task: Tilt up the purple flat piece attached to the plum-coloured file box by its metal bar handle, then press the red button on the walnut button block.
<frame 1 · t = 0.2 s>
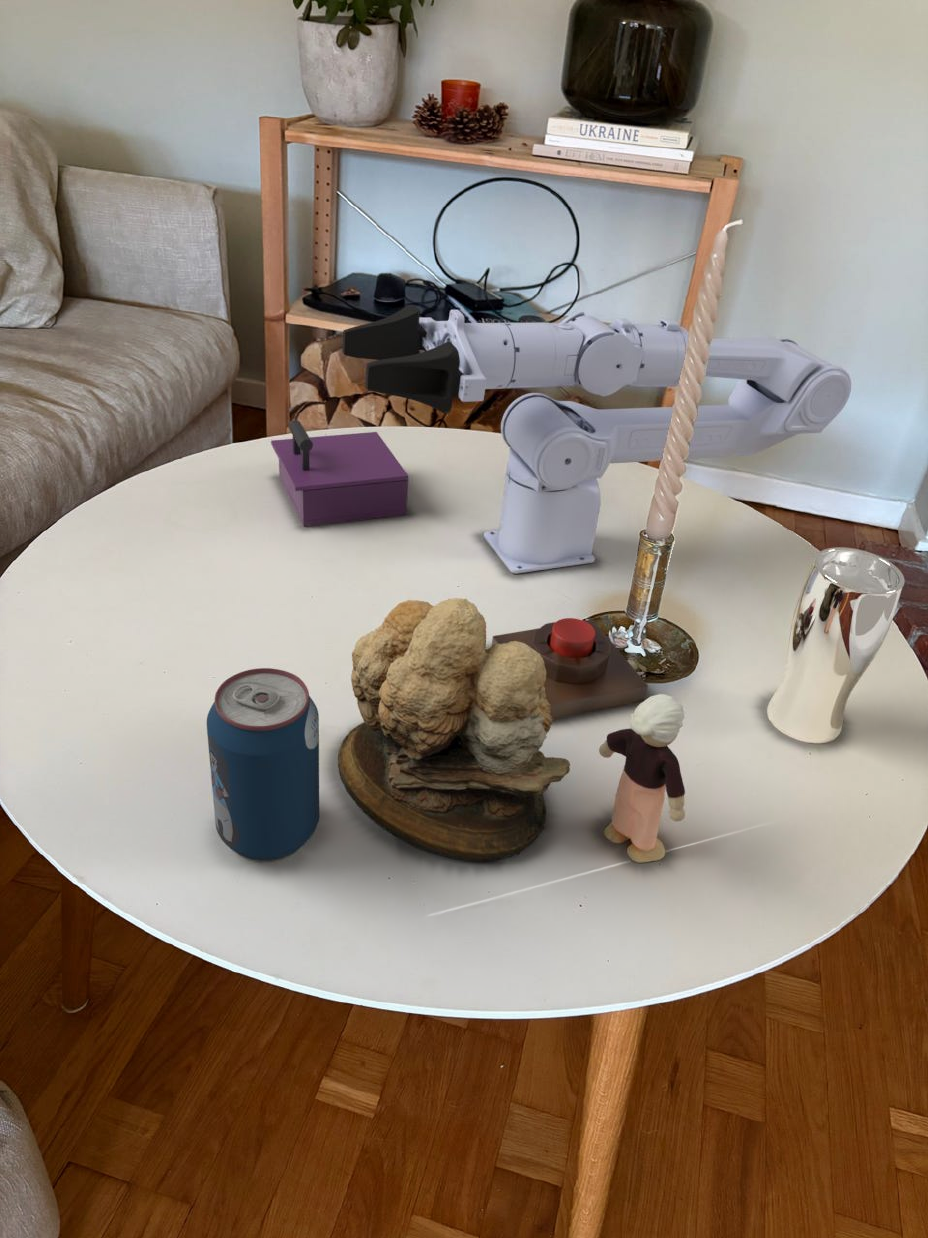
hand: (354, 358, 81), 22 cm above the table, tool horizontal, fingers open, 7 cm apart
purple flat piece: (338, 444, 103), point 6 cm above the table, hinge at 0.0°
grandmother figurine: (627, 838, 68), on the table
beer glass: (802, 721, 81), on the table
tan rock sculpture: (444, 793, 71), on the table
soda can: (268, 832, 66), on the table
button block: (565, 675, 83), on the table
file box: (341, 496, 106), on the table
button: (572, 638, 81), point 4 cm above the table, slide at 0.1 cm
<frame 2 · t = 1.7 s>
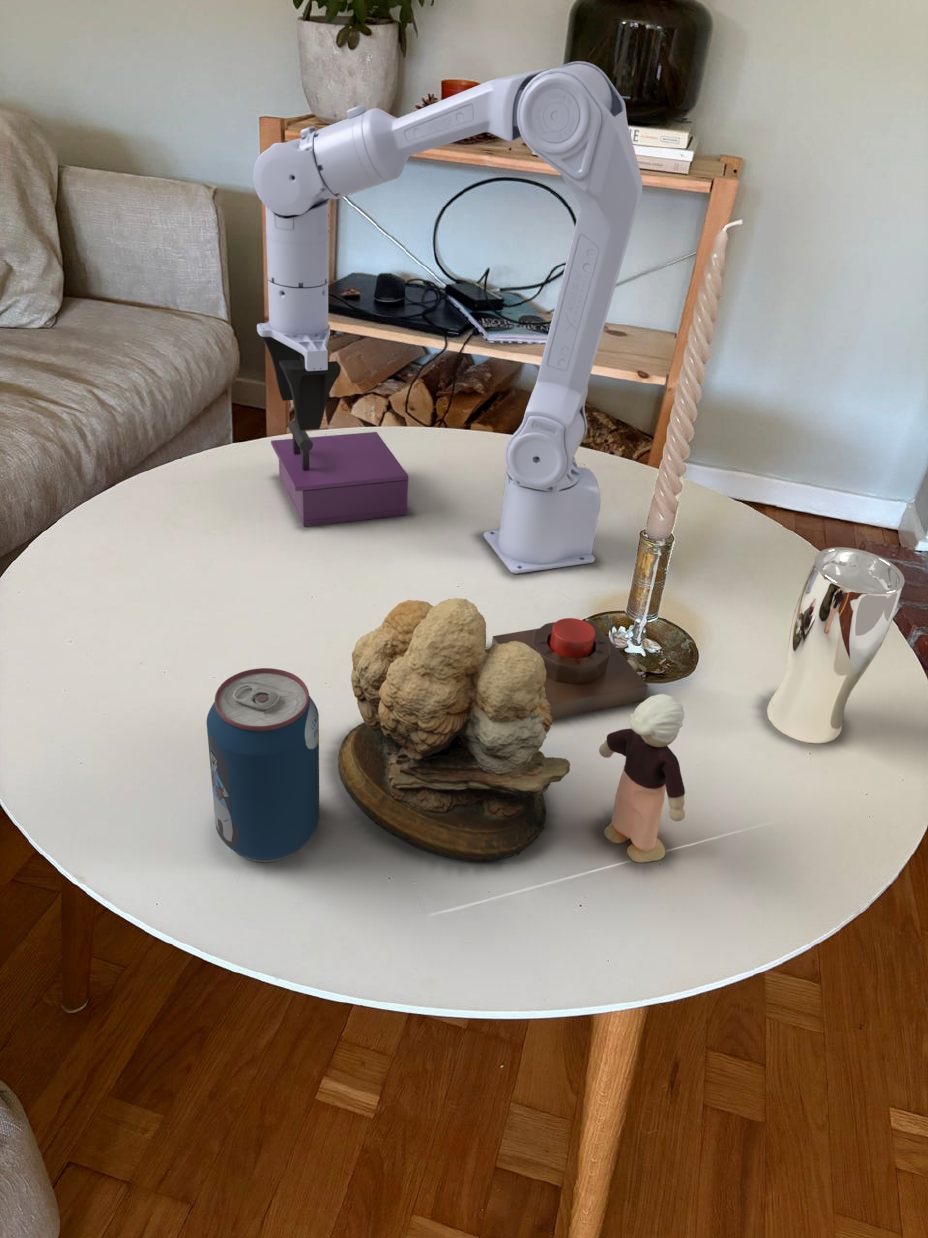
hand: (300, 413, 99), 10 cm above the table, tool pointing down, fingers open, 7 cm apart
nothing on the table moved.
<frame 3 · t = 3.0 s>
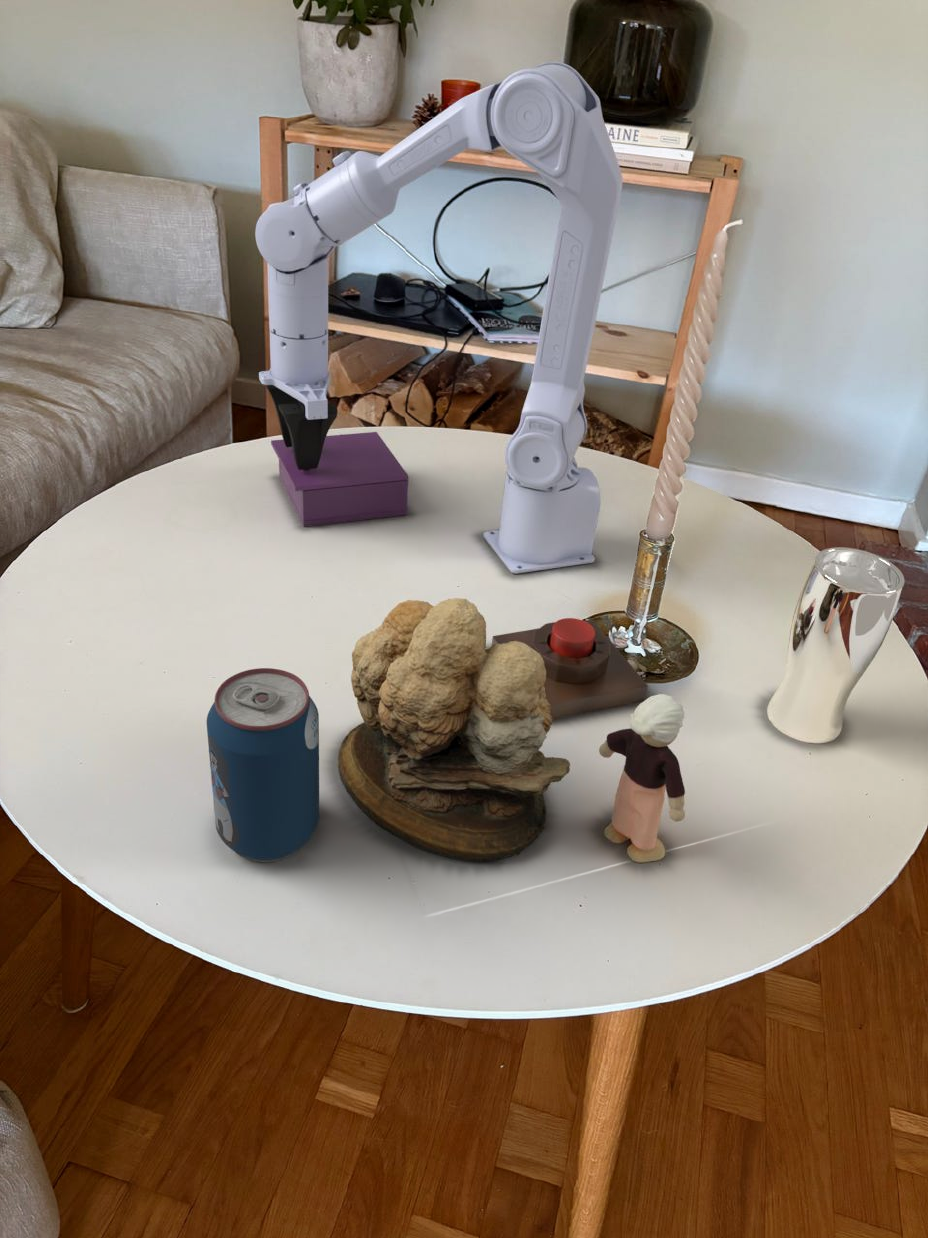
hand: (300, 456, 102), 5 cm above the table, tool pointing down, fingers closed on purple flat piece, 5 cm apart
purple flat piece: (338, 444, 103), point 6 cm above the table, hinge at 0.0°, touching gripper
everything else where it was.
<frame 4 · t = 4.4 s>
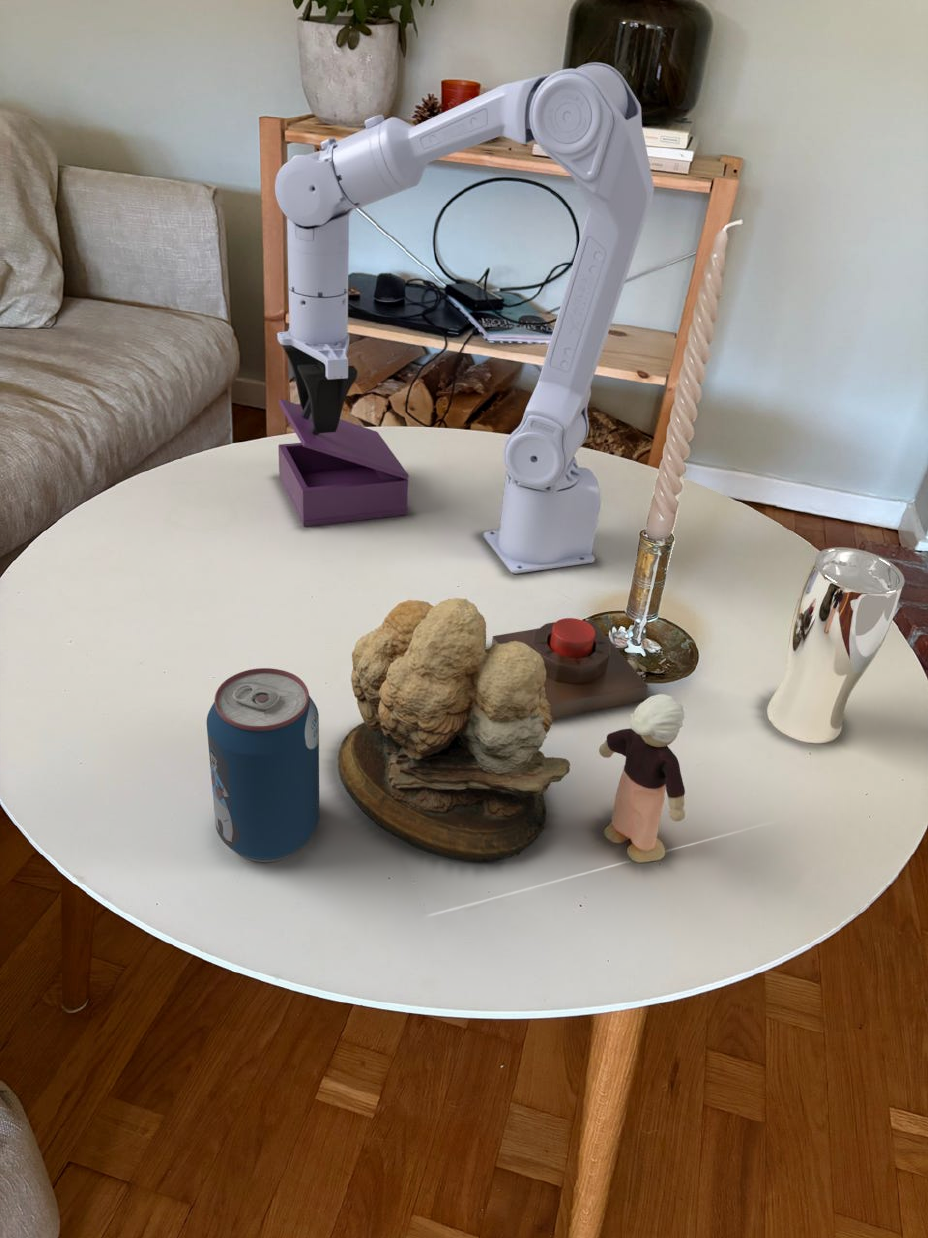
hand: (318, 420, 100), 9 cm above the table, tool pointing down, fingers closed on purple flat piece, 5 cm apart
purple flat piece: (349, 423, 102), point 9 cm above the table, hinge at 23.5°, touching gripper
everything else where it was.
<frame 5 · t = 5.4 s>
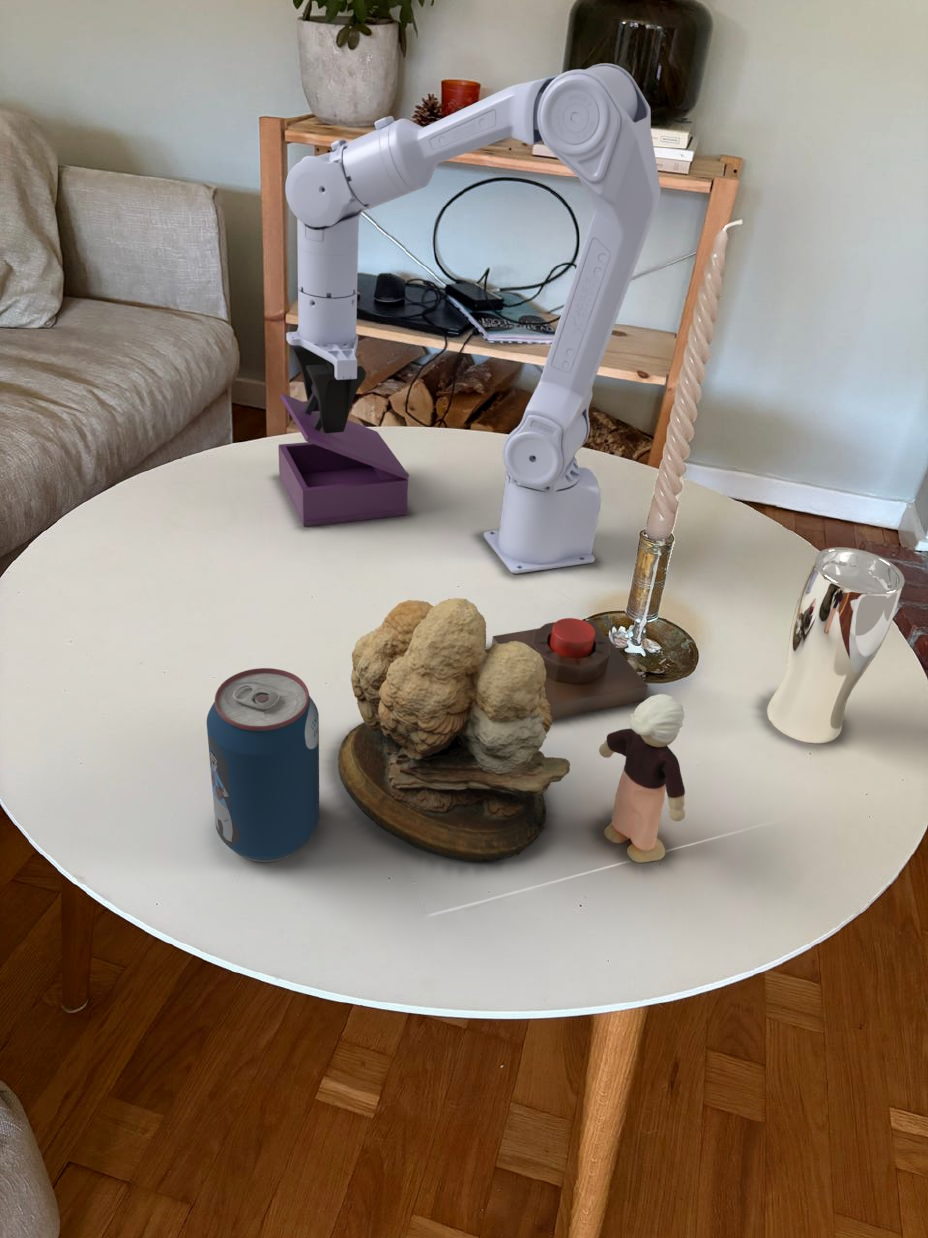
hand: (326, 420, 101), 9 cm above the table, tool pointing down, fingers closed on purple flat piece, 5 cm apart
purple flat piece: (351, 421, 102), point 9 cm above the table, hinge at 26.3°, touching gripper
everything else where it was.
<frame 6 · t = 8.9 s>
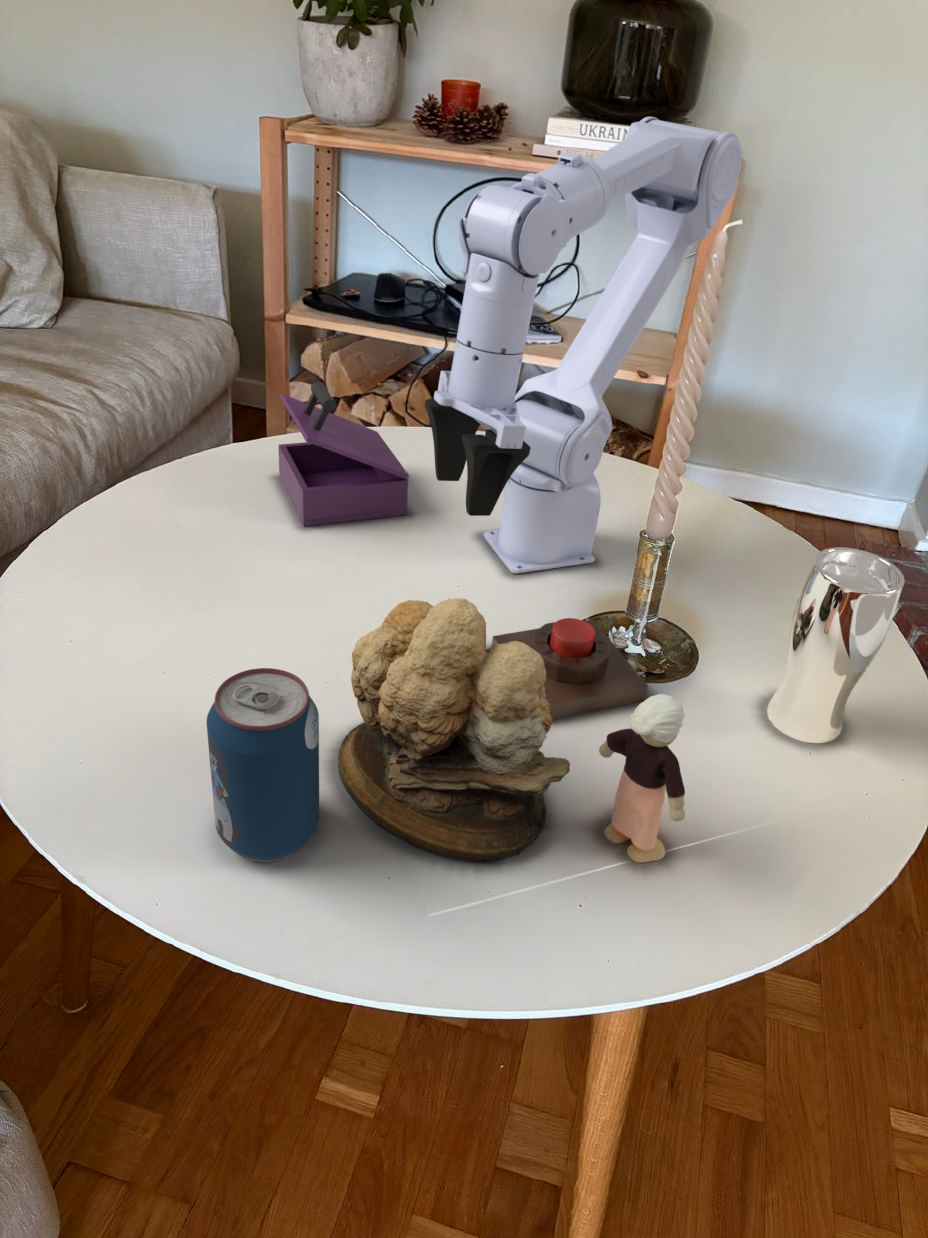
hand: (462, 496, 86), 11 cm above the table, tool pointing down, fingers open, 7 cm apart
purple flat piece: (351, 421, 102), point 9 cm above the table, hinge at 26.2°
everything else where it was.
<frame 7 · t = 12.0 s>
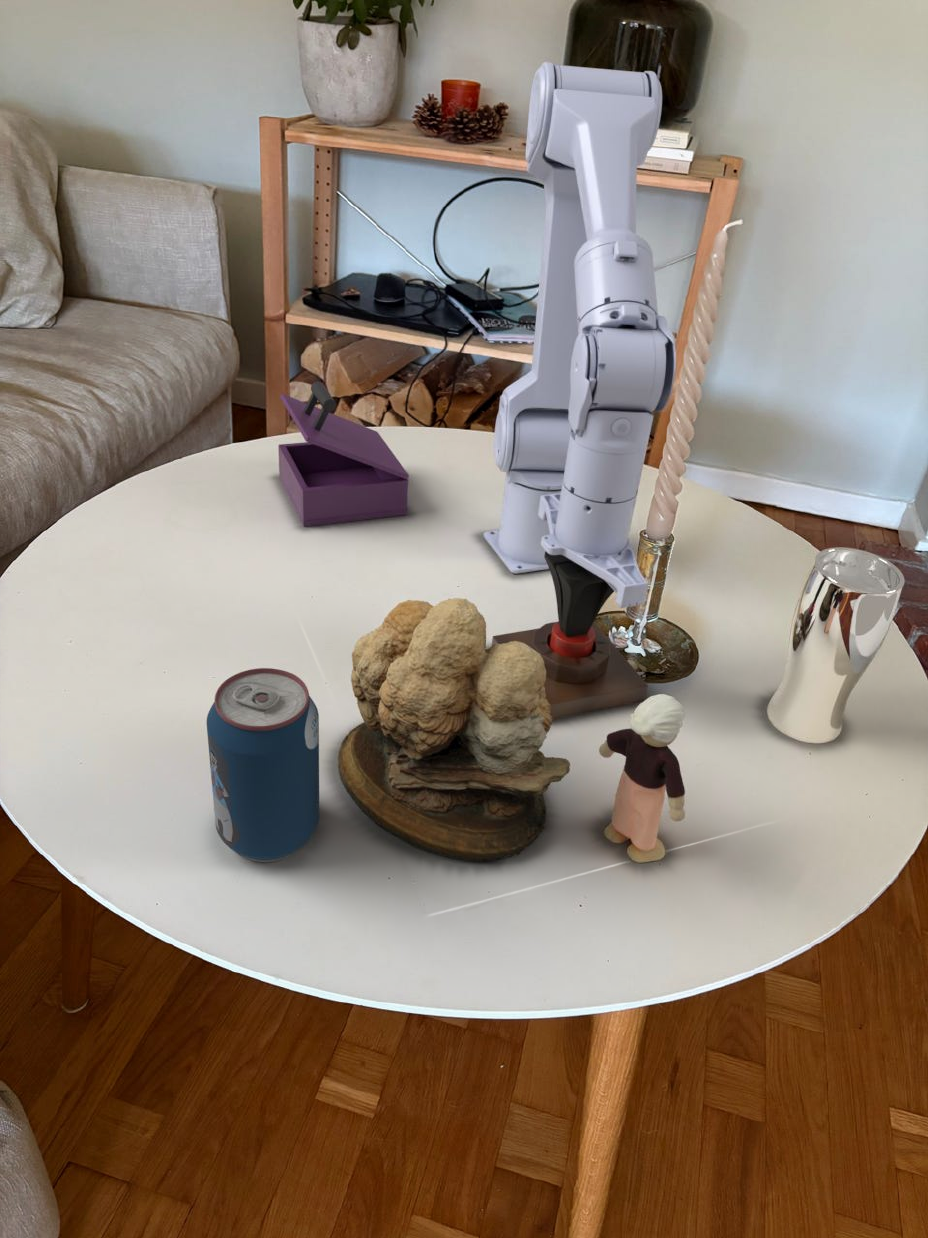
hand: (573, 631, 80), 5 cm above the table, tool pointing down, fingers closed, pressing on button
button: (572, 639, 81), point 4 cm above the table, slide at 0.0 cm, touching gripper
everything else where it was.
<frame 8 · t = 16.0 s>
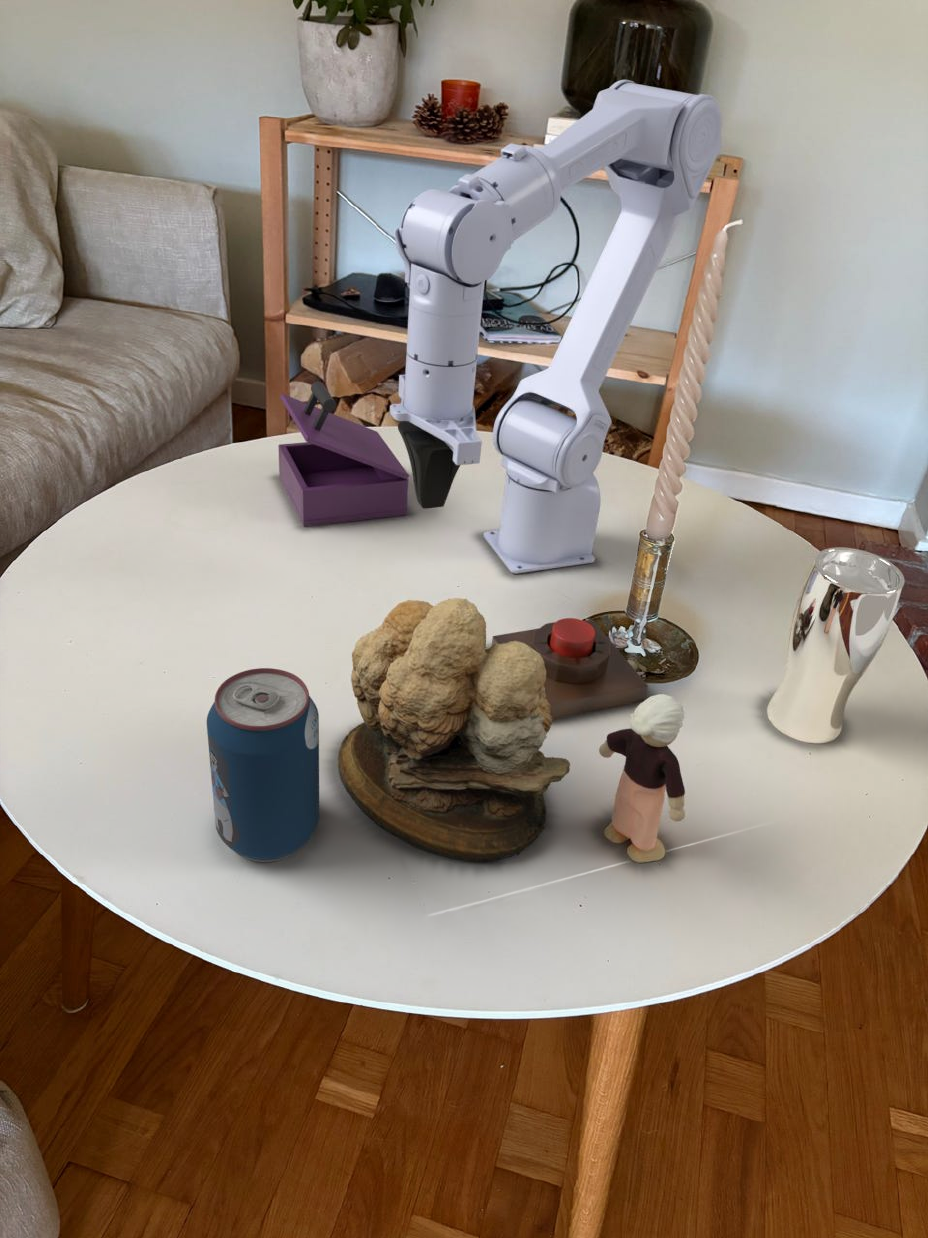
hand: (430, 504, 85), 10 cm above the table, tool pointing down, fingers closed
button: (572, 638, 81), point 4 cm above the table, slide at 0.1 cm
everything else where it was.
at the end: purple flat piece at +26° (first picture: +0°); button pushed in 1.2 cm at the most during the clip, back to where it started at the end; button slide at 0.1 cm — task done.
